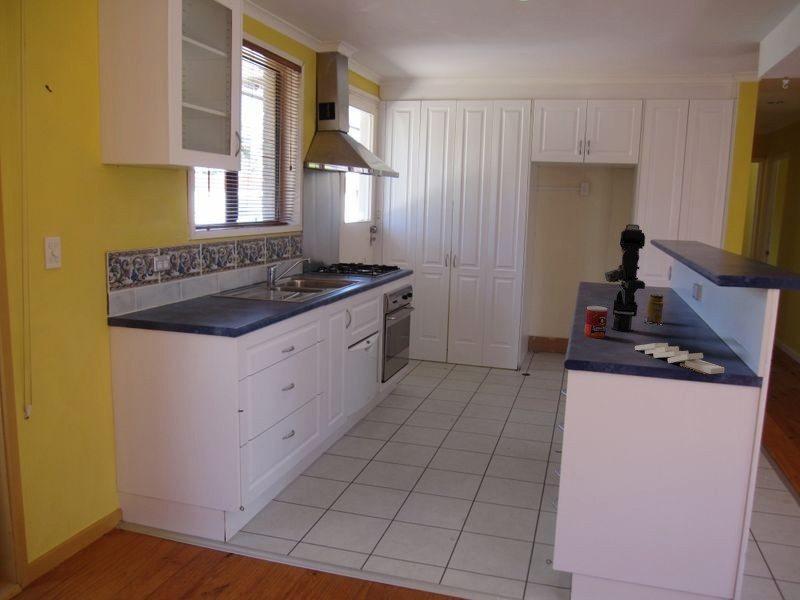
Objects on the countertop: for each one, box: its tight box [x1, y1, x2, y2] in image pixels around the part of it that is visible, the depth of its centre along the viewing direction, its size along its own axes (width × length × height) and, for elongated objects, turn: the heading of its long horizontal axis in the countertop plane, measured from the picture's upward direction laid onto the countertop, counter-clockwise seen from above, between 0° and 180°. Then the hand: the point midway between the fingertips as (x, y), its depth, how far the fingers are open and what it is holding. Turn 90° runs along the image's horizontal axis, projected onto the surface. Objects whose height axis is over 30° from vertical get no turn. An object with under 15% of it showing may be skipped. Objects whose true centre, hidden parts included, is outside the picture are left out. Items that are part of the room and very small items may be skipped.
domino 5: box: [679, 362, 710, 375], centre depth 208 cm, size 2×6×10 cm
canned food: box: [584, 305, 609, 339], centre depth 251 cm, size 8×8×11 cm
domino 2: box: [644, 345, 680, 355], centre depth 222 cm, size 2×6×10 cm
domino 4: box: [666, 352, 704, 364], centre depth 211 cm, size 2×6×10 cm
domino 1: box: [634, 342, 669, 351], centre depth 226 cm, size 2×6×10 cm
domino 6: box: [684, 359, 725, 375], centre depth 206 cm, size 2×6×10 cm
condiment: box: [646, 294, 664, 326], centre depth 285 cm, size 7×8×12 cm
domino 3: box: [653, 350, 690, 359], centre depth 217 cm, size 2×6×10 cm
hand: (625, 304), depth 248 cm, fingers closed
